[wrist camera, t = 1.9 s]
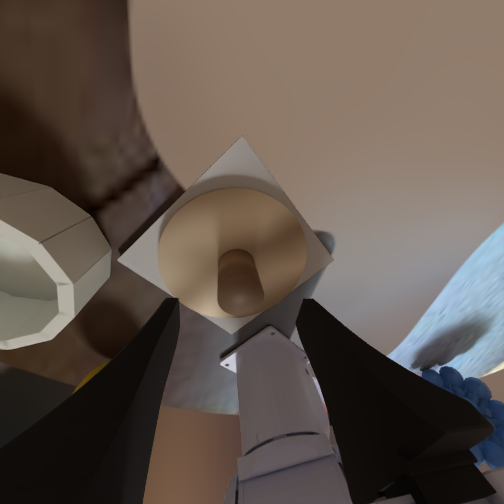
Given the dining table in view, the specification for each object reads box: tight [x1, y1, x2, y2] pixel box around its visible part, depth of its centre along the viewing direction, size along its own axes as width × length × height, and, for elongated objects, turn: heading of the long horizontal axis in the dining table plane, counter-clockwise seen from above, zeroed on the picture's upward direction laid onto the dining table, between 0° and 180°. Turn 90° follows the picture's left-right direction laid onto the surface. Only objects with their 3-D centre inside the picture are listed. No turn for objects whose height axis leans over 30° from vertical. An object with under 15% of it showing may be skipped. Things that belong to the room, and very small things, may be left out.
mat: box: [117, 135, 333, 334], centre depth 17 cm, size 13×13×1 cm
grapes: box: [422, 366, 504, 470], centre depth 28 cm, size 12×7×12 cm, turn 101°
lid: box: [157, 187, 307, 318], centre depth 14 cm, size 12×12×5 cm
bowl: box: [0, 173, 112, 350], centre depth 12 cm, size 10×10×4 cm
